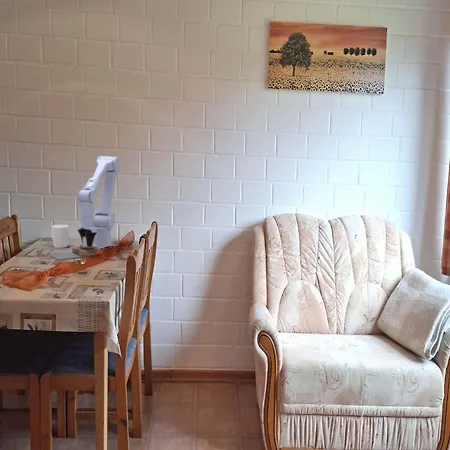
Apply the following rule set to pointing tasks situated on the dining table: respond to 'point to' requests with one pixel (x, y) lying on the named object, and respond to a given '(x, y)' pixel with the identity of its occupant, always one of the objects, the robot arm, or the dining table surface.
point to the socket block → (84, 251)
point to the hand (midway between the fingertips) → (87, 245)
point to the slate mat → (64, 256)
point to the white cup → (60, 235)
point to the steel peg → (85, 244)
